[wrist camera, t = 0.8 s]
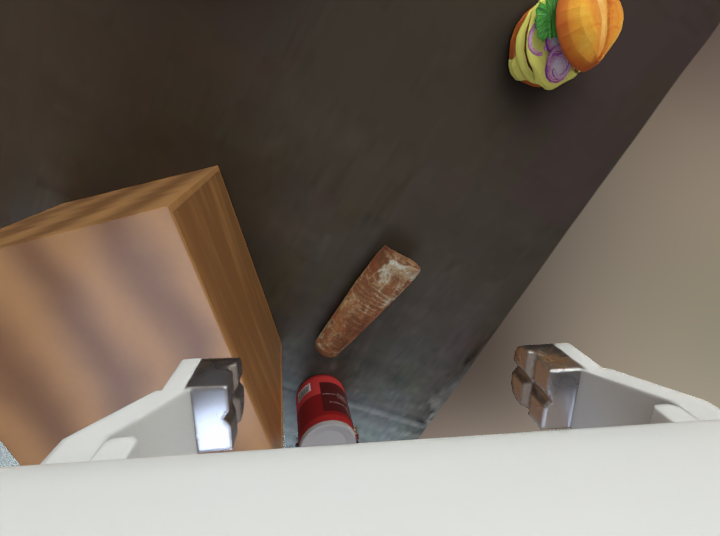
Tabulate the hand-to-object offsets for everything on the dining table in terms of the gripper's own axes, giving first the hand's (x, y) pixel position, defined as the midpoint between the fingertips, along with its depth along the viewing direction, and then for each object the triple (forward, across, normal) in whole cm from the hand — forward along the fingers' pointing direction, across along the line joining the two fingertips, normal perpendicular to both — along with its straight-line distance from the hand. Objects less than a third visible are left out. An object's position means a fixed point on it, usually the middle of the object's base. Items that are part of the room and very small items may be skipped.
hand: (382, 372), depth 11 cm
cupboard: (+41, +19, +10) cm, 46 cm away
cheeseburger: (+42, -27, -20) cm, 54 cm away
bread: (+43, -4, +14) cm, 46 cm away
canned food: (+44, +2, +30) cm, 53 cm away
